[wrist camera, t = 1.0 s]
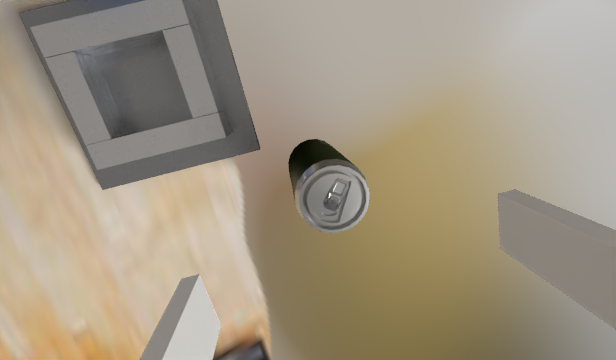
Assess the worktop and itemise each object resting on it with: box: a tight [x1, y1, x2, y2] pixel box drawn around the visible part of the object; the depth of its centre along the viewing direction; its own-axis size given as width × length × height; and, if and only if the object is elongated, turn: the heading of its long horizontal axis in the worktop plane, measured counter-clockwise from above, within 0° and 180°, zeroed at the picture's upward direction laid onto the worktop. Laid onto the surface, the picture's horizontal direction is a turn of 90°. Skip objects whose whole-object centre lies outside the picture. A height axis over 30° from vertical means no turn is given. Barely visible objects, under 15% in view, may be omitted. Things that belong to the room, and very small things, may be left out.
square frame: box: [19, 0, 260, 190], centre depth 26 cm, size 16×16×4 cm
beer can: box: [289, 139, 369, 233], centre depth 25 cm, size 5×5×12 cm
